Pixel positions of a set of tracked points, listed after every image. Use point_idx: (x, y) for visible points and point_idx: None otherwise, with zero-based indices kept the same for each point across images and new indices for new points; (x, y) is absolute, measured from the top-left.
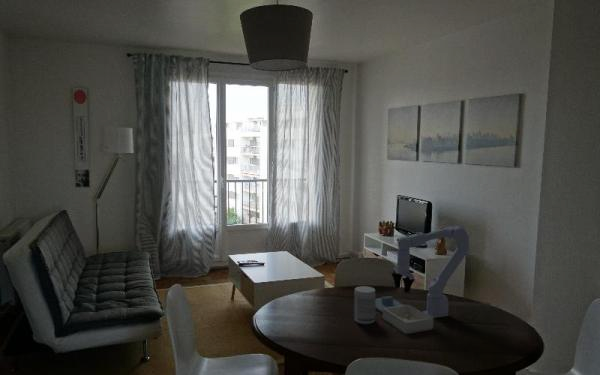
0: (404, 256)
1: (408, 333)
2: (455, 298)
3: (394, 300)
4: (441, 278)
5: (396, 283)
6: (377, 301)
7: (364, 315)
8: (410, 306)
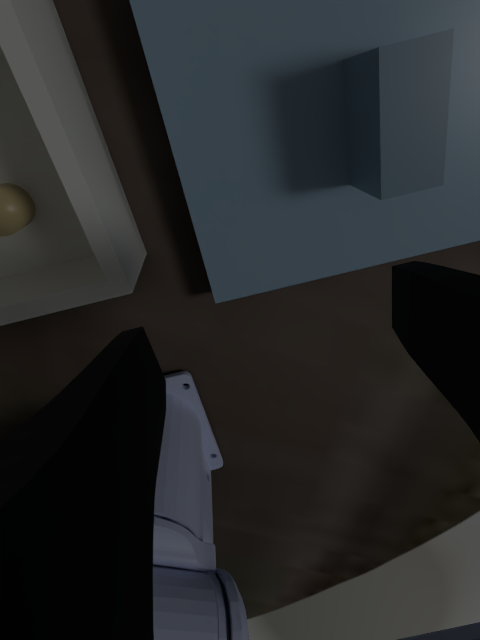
0: None
1: None
2: (364, 557)
3: (436, 237)
4: None
5: (441, 305)
6: None
7: None
8: (64, 291)
